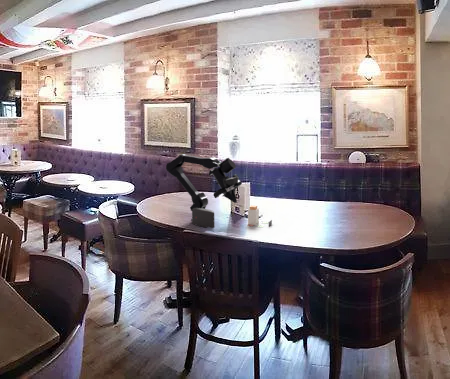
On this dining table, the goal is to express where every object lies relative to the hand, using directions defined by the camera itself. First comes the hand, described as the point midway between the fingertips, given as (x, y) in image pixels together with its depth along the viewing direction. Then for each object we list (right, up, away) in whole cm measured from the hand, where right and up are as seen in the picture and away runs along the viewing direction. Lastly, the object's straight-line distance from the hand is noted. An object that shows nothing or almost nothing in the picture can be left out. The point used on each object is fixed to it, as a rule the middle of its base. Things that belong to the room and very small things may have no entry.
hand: (236, 202), depth 216 cm
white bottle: (+9, -11, -1) cm, 15 cm away
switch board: (+11, -13, -2) cm, 17 cm away
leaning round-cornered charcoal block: (-18, -13, -2) cm, 22 cm away
